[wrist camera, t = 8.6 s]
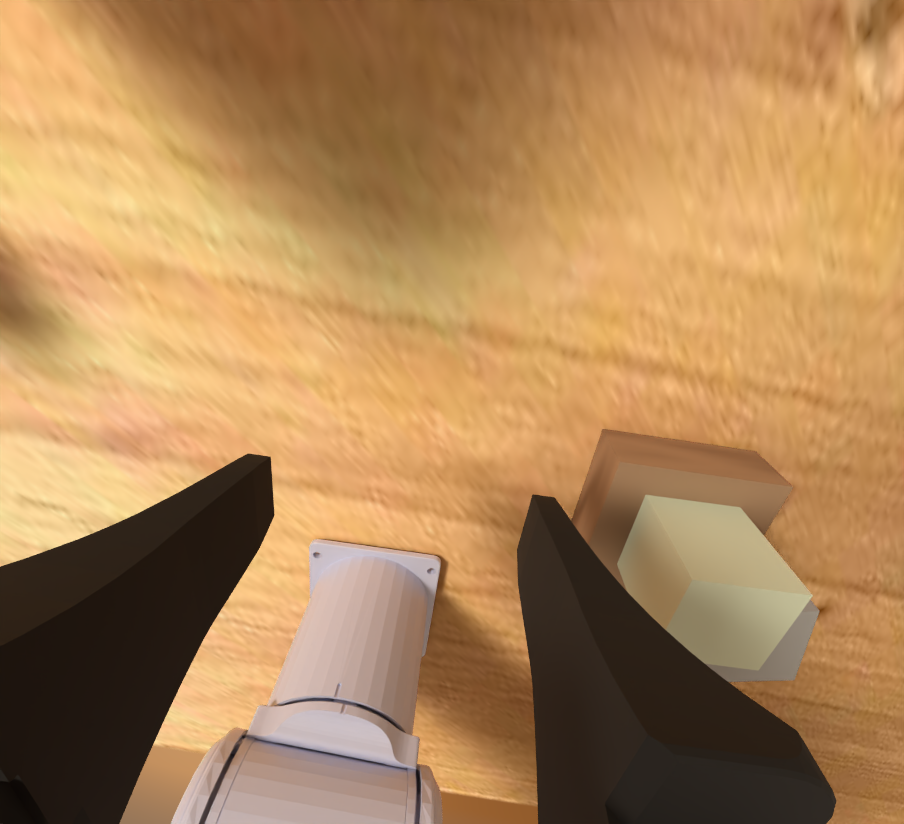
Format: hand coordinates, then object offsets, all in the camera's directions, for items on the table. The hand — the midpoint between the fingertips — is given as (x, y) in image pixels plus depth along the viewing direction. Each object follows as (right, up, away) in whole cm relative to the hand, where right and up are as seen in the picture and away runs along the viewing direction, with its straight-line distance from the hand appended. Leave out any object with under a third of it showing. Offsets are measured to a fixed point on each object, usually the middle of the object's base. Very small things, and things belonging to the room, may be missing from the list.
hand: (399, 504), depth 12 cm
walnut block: (+13, -2, +12) cm, 18 cm away
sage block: (+12, -4, +9) cm, 16 cm away
